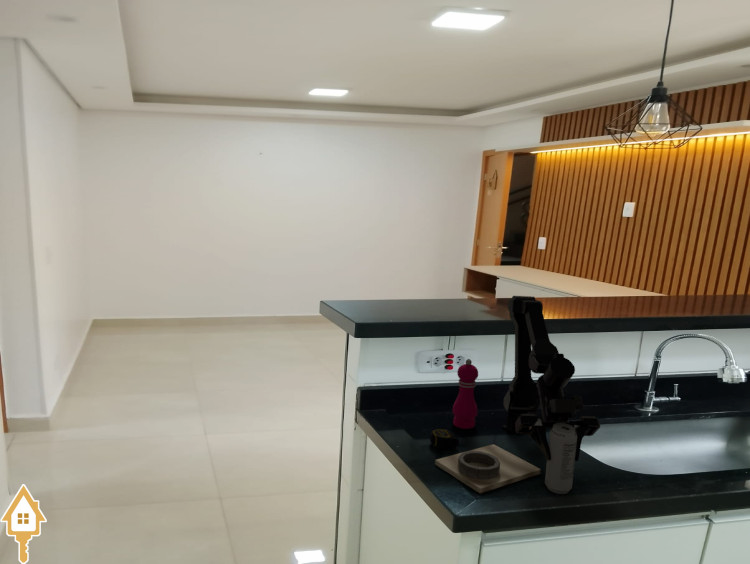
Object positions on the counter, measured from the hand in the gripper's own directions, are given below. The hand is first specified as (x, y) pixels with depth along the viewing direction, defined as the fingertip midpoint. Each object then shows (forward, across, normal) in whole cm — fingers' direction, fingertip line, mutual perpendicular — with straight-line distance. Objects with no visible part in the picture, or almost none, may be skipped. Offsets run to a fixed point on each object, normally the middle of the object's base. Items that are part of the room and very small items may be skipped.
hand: (563, 460), depth 129 cm
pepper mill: (-21, -16, +32) cm, 42 cm away
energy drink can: (+4, 0, +6) cm, 8 cm away
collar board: (-2, -15, +12) cm, 19 cm away
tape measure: (-11, -23, +22) cm, 34 cm away
